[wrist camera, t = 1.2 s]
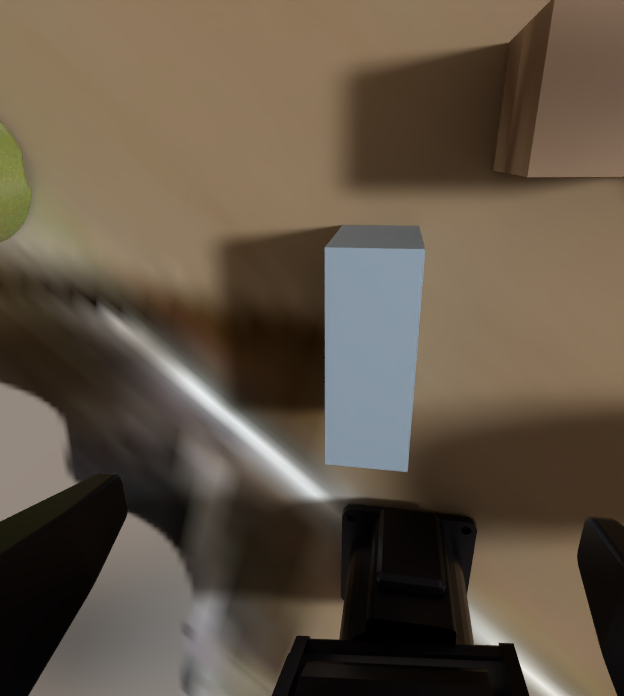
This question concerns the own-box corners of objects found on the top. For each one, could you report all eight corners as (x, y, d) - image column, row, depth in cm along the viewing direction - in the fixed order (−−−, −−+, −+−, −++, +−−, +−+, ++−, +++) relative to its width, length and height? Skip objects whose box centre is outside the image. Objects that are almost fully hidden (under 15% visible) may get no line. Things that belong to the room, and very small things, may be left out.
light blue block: (405, 404, 21) (407, 472, 17) (340, 399, 22) (325, 464, 17) (418, 225, 18) (425, 249, 14) (342, 224, 19) (324, 247, 14)
